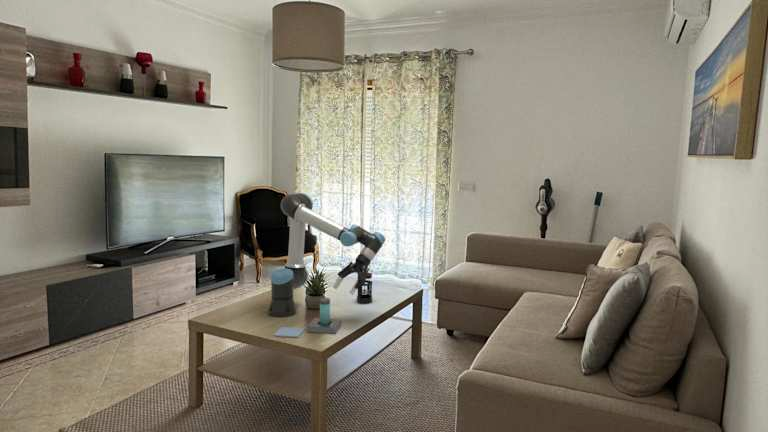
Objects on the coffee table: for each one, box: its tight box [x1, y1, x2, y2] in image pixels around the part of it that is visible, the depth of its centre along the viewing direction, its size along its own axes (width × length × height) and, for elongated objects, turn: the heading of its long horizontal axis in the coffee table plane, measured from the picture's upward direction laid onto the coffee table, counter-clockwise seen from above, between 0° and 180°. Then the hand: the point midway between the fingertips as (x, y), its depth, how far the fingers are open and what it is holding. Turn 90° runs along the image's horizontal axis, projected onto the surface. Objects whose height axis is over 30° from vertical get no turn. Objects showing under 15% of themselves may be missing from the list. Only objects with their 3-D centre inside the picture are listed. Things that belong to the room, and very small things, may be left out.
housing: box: [306, 317, 343, 335], centre depth 266 cm, size 14×14×3 cm
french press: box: [356, 272, 373, 305], centre depth 314 cm, size 12×9×23 cm
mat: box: [273, 326, 306, 339], centre depth 259 cm, size 12×12×1 cm
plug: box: [319, 297, 331, 325], centre depth 266 cm, size 5×5×15 cm
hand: (342, 290), depth 272 cm, fingers open, 13 cm apart
